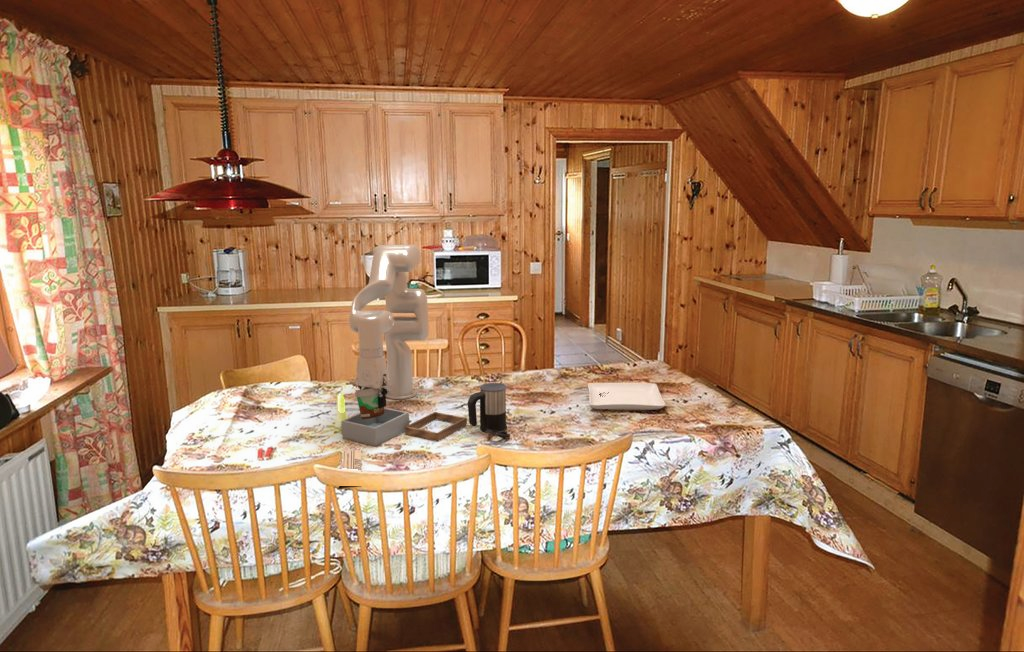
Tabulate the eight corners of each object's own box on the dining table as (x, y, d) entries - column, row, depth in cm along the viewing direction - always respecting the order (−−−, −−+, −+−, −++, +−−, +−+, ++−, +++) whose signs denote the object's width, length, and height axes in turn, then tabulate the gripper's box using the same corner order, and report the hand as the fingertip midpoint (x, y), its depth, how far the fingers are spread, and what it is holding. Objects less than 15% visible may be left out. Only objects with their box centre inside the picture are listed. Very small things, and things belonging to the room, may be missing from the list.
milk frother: (493, 421, 219) (492, 380, 216) (528, 431, 209) (527, 389, 206) (464, 433, 209) (462, 390, 206) (499, 444, 199) (498, 400, 196)
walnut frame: (405, 434, 209) (404, 426, 208) (435, 418, 223) (434, 411, 222) (438, 441, 202) (437, 434, 202) (466, 424, 216) (466, 418, 216)
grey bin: (342, 438, 206) (341, 421, 205) (376, 422, 220) (375, 405, 219) (376, 446, 199) (375, 428, 198) (409, 429, 213) (408, 412, 212)
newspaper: (341, 456, 193) (341, 451, 193) (365, 454, 195) (364, 448, 194) (339, 490, 171) (338, 484, 170) (365, 487, 172) (365, 481, 172)
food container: (375, 421, 201) (370, 390, 199) (358, 420, 203) (354, 390, 201) (395, 408, 212) (391, 380, 210) (379, 408, 214) (375, 380, 212)
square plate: (655, 391, 250) (656, 382, 250) (665, 415, 224) (666, 404, 223) (587, 390, 253) (587, 381, 252) (589, 413, 226) (589, 403, 226)
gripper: (343, 352, 205) (347, 405, 208) (384, 358, 196) (387, 413, 200) (359, 347, 211) (363, 398, 215) (399, 353, 203) (402, 406, 206)
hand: (374, 405), depth 207 cm, fingers closed on food container, 5 cm apart
